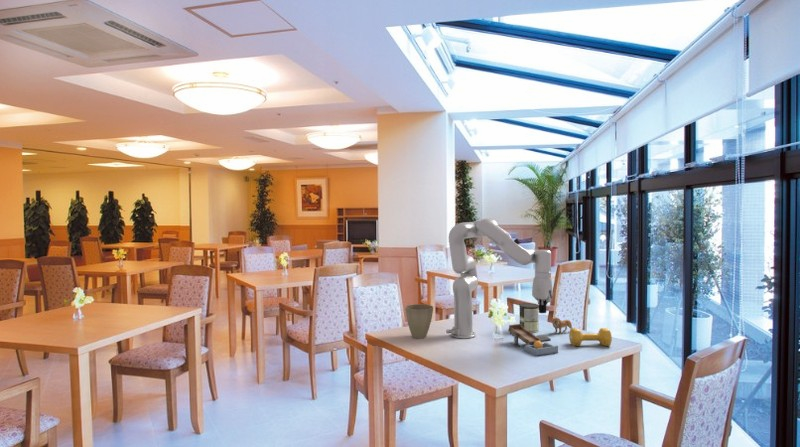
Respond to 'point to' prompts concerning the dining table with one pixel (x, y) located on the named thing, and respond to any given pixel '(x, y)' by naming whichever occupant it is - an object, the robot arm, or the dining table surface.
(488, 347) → the dining table surface
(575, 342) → the dumbbell
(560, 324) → the lion figurine
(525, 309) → the coffee can
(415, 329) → the plant pot
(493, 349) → the dining table surface
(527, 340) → the brown tilting tray
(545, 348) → the tray
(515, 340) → the lever stand
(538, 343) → the ball
